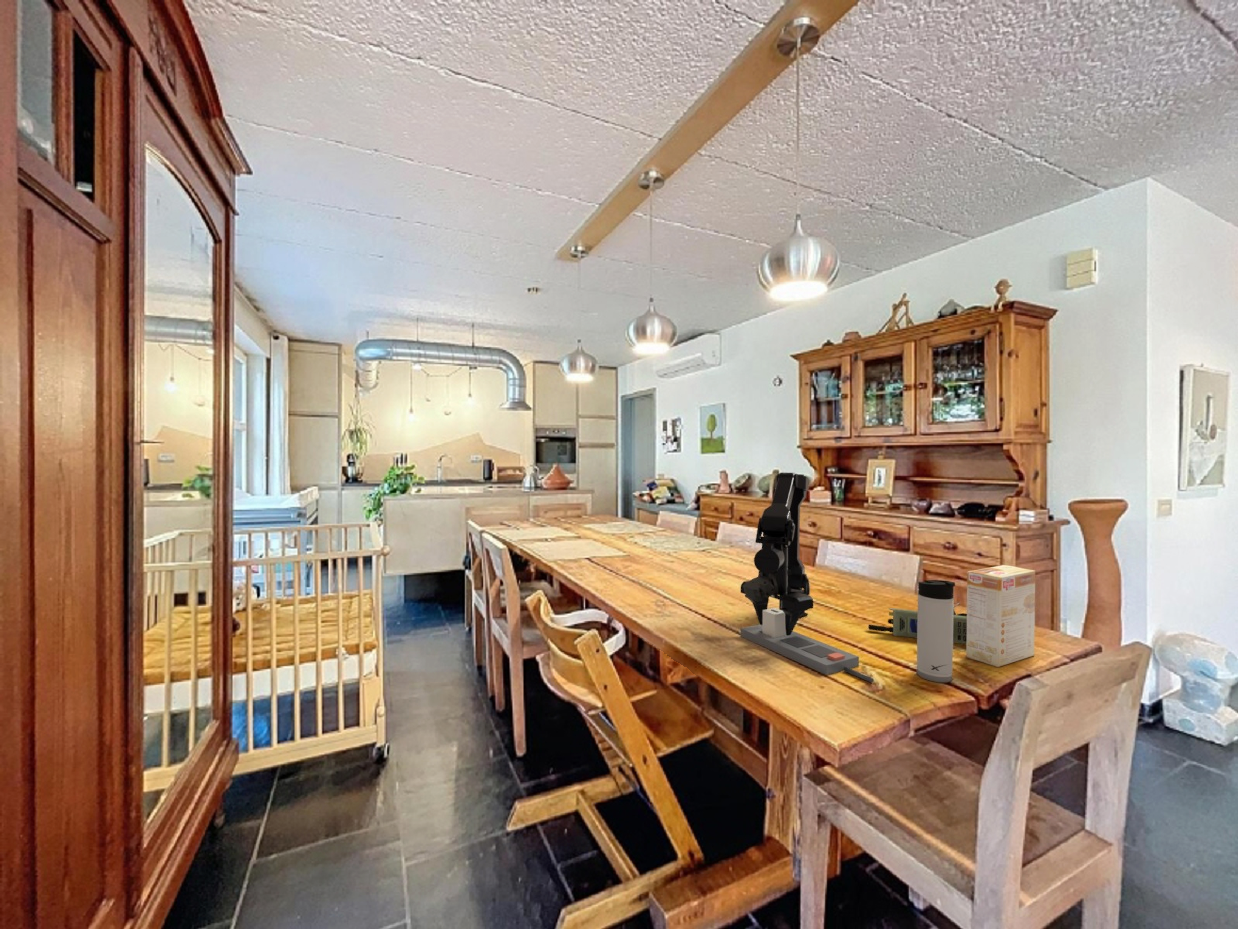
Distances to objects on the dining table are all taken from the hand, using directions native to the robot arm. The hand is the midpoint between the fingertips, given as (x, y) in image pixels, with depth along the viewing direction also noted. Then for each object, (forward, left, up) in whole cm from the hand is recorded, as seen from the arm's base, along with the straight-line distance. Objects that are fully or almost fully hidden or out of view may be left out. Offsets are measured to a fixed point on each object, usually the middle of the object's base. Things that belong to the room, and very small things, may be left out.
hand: (774, 629), depth 127 cm
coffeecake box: (+31, +38, -3) cm, 49 cm away
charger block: (0, 0, -2) cm, 2 cm away
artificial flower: (+14, +50, -3) cm, 52 cm away
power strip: (+10, 0, -3) cm, 10 cm away
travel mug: (+31, +14, -3) cm, 34 cm away
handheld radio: (+16, +35, -3) cm, 38 cm away
